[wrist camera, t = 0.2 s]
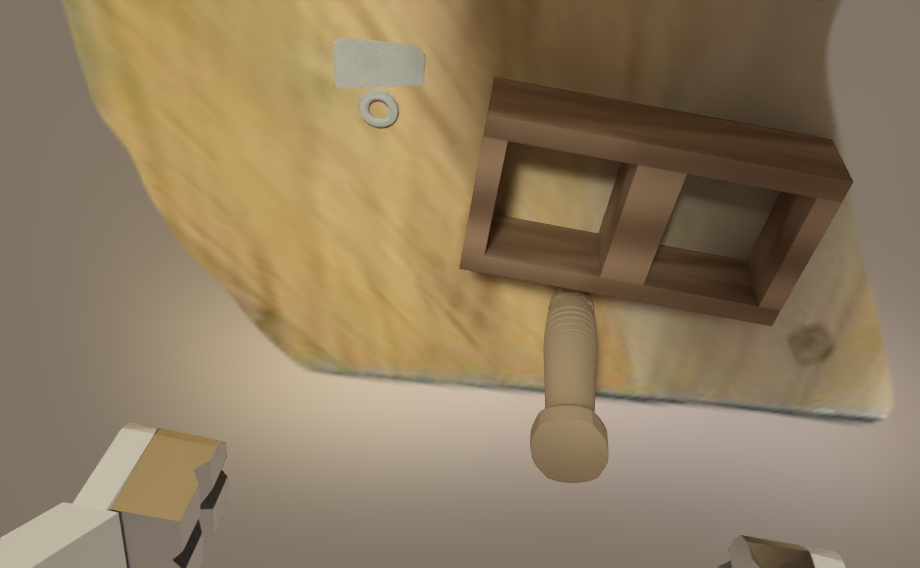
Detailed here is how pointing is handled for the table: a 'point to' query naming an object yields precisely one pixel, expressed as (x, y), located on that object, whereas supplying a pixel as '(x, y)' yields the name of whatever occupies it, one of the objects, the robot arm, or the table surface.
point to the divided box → (653, 202)
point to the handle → (570, 394)
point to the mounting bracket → (377, 72)
